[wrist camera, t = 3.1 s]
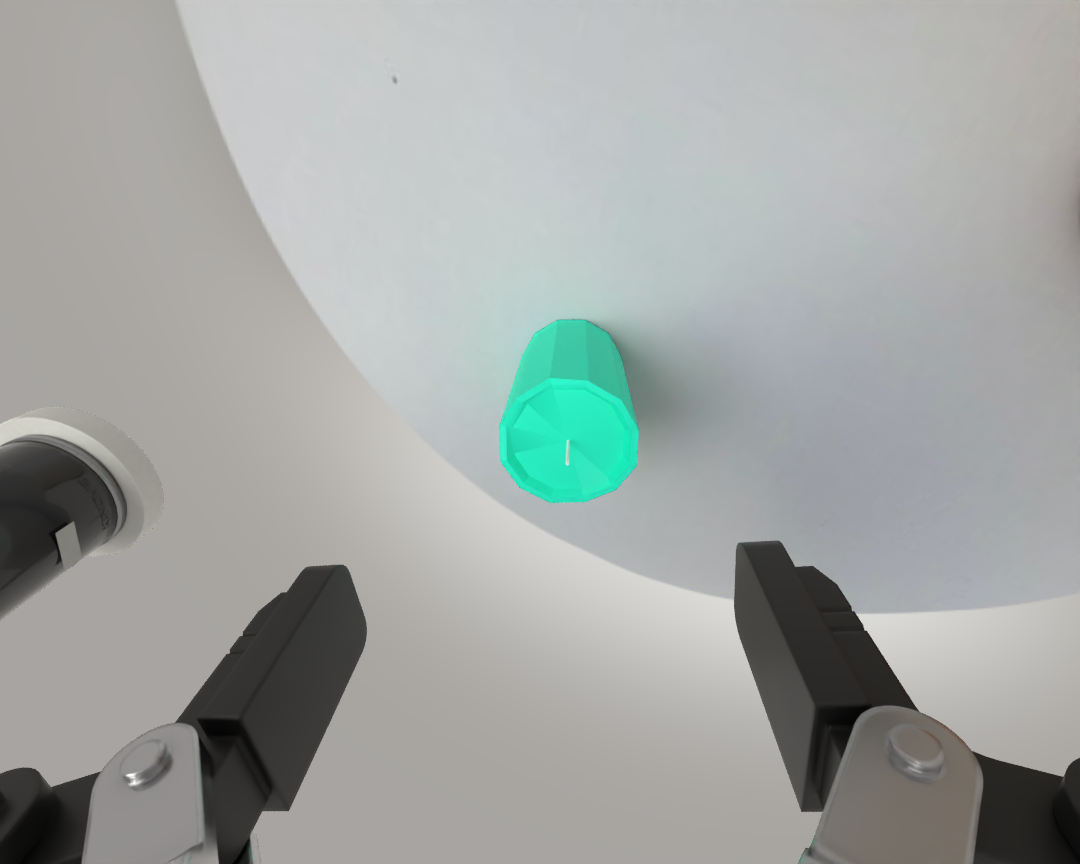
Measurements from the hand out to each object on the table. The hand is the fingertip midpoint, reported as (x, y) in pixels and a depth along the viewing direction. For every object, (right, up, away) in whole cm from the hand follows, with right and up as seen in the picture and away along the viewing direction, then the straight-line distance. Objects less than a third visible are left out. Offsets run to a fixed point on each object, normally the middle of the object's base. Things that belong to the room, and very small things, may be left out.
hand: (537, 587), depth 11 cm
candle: (+2, +7, +21) cm, 22 cm away
